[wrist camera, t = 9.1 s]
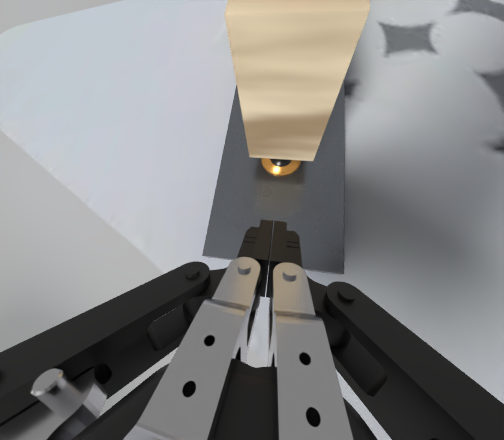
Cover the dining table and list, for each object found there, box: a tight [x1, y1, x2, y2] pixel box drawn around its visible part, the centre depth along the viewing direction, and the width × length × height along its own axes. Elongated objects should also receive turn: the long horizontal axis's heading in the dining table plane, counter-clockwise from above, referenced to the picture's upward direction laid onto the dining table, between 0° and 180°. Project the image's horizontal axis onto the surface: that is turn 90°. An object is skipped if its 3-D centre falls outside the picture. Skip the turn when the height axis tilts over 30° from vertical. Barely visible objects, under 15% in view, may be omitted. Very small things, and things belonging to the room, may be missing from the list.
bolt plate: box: [202, 77, 345, 274], centre depth 14 cm, size 27×11×12 cm, turn 173°
